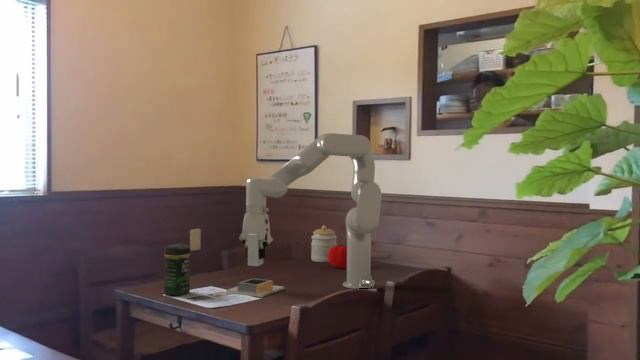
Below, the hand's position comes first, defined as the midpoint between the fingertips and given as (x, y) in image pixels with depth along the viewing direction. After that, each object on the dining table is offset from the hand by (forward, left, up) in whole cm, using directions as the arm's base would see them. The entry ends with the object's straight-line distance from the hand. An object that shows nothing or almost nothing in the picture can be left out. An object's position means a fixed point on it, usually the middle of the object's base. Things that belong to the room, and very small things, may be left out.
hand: (255, 257), depth 234 cm
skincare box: (0, 0, -3) cm, 3 cm away
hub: (0, 0, -13) cm, 13 cm away
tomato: (+24, -58, -13) cm, 64 cm away
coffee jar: (+11, +27, -13) cm, 32 cm away
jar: (+45, -63, -13) cm, 79 cm away
